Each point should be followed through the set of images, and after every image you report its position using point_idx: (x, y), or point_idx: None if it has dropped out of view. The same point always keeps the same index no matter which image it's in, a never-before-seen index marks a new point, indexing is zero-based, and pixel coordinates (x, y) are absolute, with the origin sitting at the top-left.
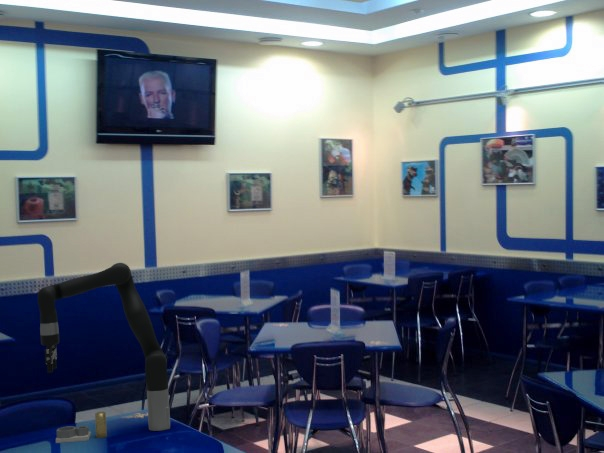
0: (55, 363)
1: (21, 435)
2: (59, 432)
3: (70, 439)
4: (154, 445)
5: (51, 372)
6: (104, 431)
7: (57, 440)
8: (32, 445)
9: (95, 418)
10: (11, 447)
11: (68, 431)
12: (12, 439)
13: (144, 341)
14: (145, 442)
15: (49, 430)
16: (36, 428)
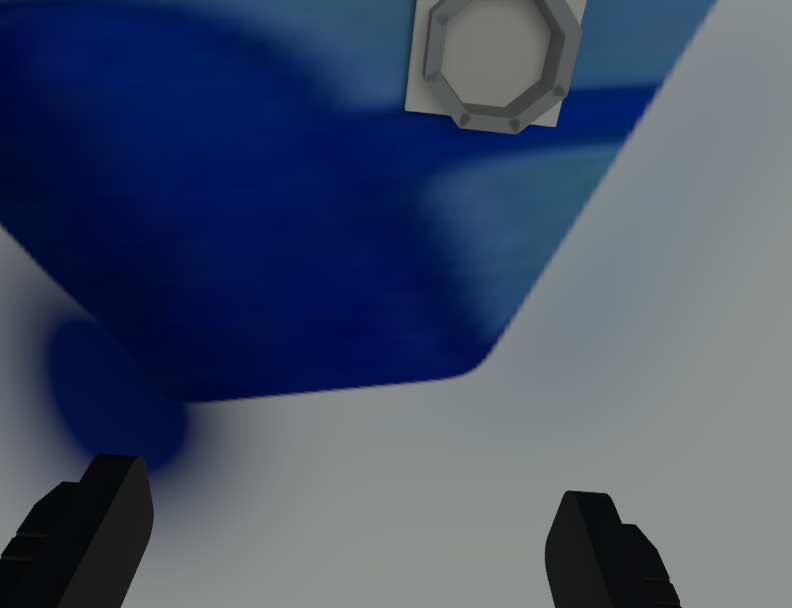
0: (80, 579)
1: (254, 330)
2: (544, 108)
3: (580, 14)
4: None
5: (599, 505)
6: None
7: (556, 113)
8: (510, 256)
9: None
10: (491, 352)
11: (580, 34)
12: (325, 363)
13: None
14: None
15: (178, 185)
16: (106, 267)
